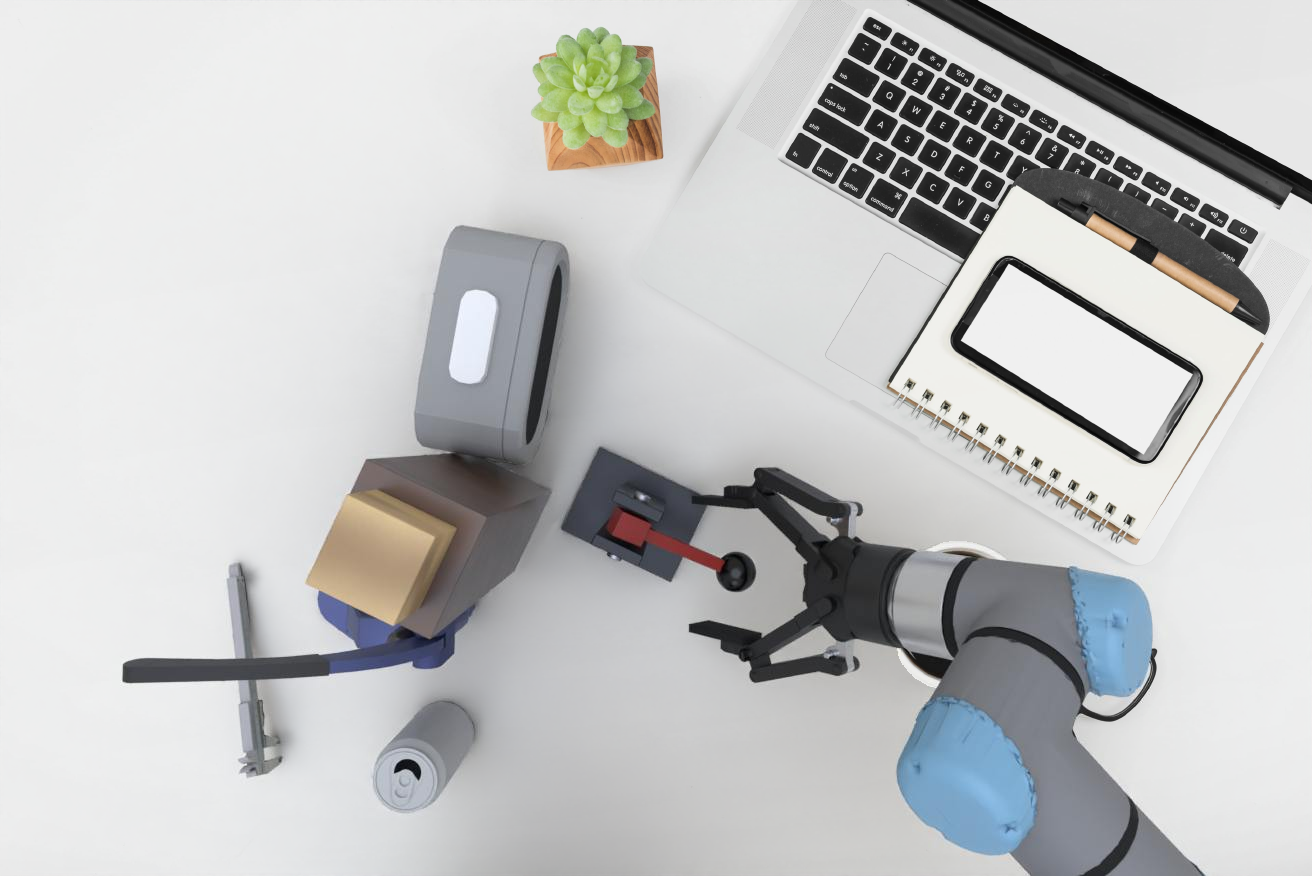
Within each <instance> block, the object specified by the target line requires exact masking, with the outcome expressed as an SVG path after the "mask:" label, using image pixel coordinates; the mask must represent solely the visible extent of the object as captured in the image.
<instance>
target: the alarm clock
mask: <svg viewBox="0 0 1312 876" xmlns="http://www.w3.org/2000/svg"><path fill="white" fill-rule="evenodd" d="M570 277H571V263H570V256H569V252H568V249H567V247H566V246H565V245H564V244H563V243H562V242H559V241H554V240H548V239H544V238H538V237H532V236H527V235H520V234H516V233H511V232H503V231H499V230H492V229H485V228H481V227H474V226H470V225H463V224H460V225H456V226H455V227H454V228H453V229H452V231H451V232H450V233H449V235H448V237H447V240H446V242H445V245H444V247H443V250H442V255H441V259H440V263H439V268H438V273H437V277H436V282H435V288H434V293H433V297H432V298H433V299H432V304H431V310H430V314H429V321H428V327H427V332H426V336H425V342H424V347H423V354H422V358H421V365H420V370H419V376H418V382H417V389H416V397H415V403H414V411H413V418H414V419H413V421H414V433H415V437H416V440H417V442H418V443H419V445H420V446H421V447H424V448H427V449H432V450H437V451H444V452H449V453H459V454H464V455H470V456H475V457H480V458H486V459H488V460H490V461H498V462H503V463H507V464H508V463H509V464H513V465H519V466H525V465H526V464H528V463H530V462H531V461H532V460H533V459H534V458H535V456H536V453H537V451H538V448H539V446H540V443H541V439H542V436H543V433H544V429H545V425H546V424H545V423H546V418H547V413H548V411H549V410H548V409H549V404H550V399H551V393H552V389H553V383H554V377H555V371H556V366H557V360H558V354H559V349H560V344H561V339H562V333H563V326H564V323H565V315H566V310H567V305H568V297H569V290H570V280H571V279H570Z"/></svg>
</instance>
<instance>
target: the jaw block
mask: <svg viewBox="0 0 1312 876" xmlns="http://www.w3.org/2000/svg"><path fill="white" fill-rule="evenodd" d="M456 530H457V528H456V527H454V526H452V525H450V524H448V523H446V522H444V521H442V520H440V519H438V518H436V517H434V516H432V515H429V514H427V513H425V512H423V511H421V510H419V509H417V508H415V507H413V506H411V505H409V504H407V503H404V502H402V501H400V500H398V499H396V498H394V497H392V496H390V495H388V494H386V493H384V492H382V491H379V490H377V489H376V490H370V491H365V492H359V493H353V494H350V493H347V494H346V495H345V497H344V499H343V501H342V503H341V506H340V508H339V510H338V512H337V513H336V515H335V519H334V521H333V523H332V525H331V527H330V529H329V531H328V533H327V536H326V538H325V540H324V542H323V544H322V546H321V548H320V550H319V553H318V555H317V557H316V558H315V561H314V563H313V566H312V568H311V569H310V571H309V573H308V576H307V579H306V580H305V585H307V586H309V587H311V588H314V589H316V590H317V591H318V592H319V591H321V592H324V593H326V594H328V595H330V596H332V597H334V598H336V599H338V600H340V601H342V602H344V603H346V604H348V605H350V606H352V607H355V608H357V609H359V610H361V611H363V612H365V613H367V614H369V615H371V616H373V617H375V618H377V619H379V620H381V621H383V622H386V623H388V624H390V625H392V626H394V625H396V624H397V623H399V622H400V621H402V620H403V619H405V618H406V617H408V616H409V615H411V614H413V613H414V612H416V611H417V610H419V609H420V607H421V605H422V602H423V600H424V598H425V596H426V594H427V592H428V590H429V588H430V585H431V583H432V581H433V579H434V577H435V575H436V573H437V571H438V568H439V566H440V564H441V562H442V560H443V558H444V556H445V554H446V551H447V549H448V547H449V545H450V543H451V541H452V539H453V537H454V534H455V532H456Z"/></svg>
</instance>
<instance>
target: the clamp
mask: <svg viewBox="0 0 1312 876" xmlns="http://www.w3.org/2000/svg"><path fill="white" fill-rule="evenodd" d="M316 599H317V606H318V610H319V611H320V614H321V616H322V617H323V618H324V620H325V621H326V622H328V623H329V624H330V625H332V626H333V627H334V628H336V629H337V630H338V631H340V632H341V633H343V634H344V635H345V636H346V637H348V638H349V639H351V640H352V641H353V642H354V644H355V646H356V648H357V649H351V650H344V651H339V652H332V653H323V654H319V653H310V654H309V653H308V654H301V655H289V656H287V655H286V656H270V657H253V658H239V659H236V658H178V657H177V658H175V657H172V658H171V657H170V658H169V657H168V658H167V657H140V658H134V659H130V660H127V661H124V662H123V663H122V675H121V676H122V677H121V680H122V682H123V683H124V684H153V683H154V684H155V683H156V684H157V683H159V684H161V683H193V682H194V683H197V682H200V683H201V682H231V681H232V682H233V681H234V682H235V681H237V682H238V680H256V681H261V680H264V681H265V680H281V679H283V680H284V679H301V678H314V677H315V678H316V677H329V676H330V675H334V674H343V673H344V674H345V673H355V672H356V673H357V672H363V671H369V670H370V671H371V670H378V669H385V668H390V667H395V666H400V665H404V664H408V663H411V662H412V668H415V669H419V670H432V669H438V668H440V667H442V666H443V665H444V664H445V663H446V662H448V660H450V658H452V657H453V655H455V646H456V634H457V633H458V632H459V631H460V630H461V629H463V628H464V627H465V626H466V625H467V624H468V623H469V620H470V617H471V616H472V614H473V613H474V610H475V607H476V603H474V604H473V605H472V606H471V607H470V608H468V609H467V610H466V611H465V612H463V613H462V614H461V615H460V616H458V617H457V618H456V619H455V620H453V621H452V622H451V623H450V624H449V625H447V626H446V627H445V628H444V629H442V630H441V631H440V632H439V633H437V634H436V635H435V636H434V637H433V638H431V639H428V638H426V637H424V636H422V635H420V634H418V633H416V632H413V631H411V630H409V629H407V628H405V627H403V626H401V625H399V624H396V625H394V626H392V625H390V624H388V623H386V622H383V621H381V620H379V619H377V618H375V617H373V616H371V615H369V614H367V613H365V612H363V611H361V610H359V609H357V608H355V607H352V606H350V605H348V604H346V603H344V602H342V601H340V600H338V599H336V598H334V597H332V596H330V595H328V594H326V593H324V592H321V591H319V590H318V593H317V597H316Z"/></svg>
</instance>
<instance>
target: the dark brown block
mask: <svg viewBox="0 0 1312 876" xmlns="http://www.w3.org/2000/svg"><path fill="white" fill-rule="evenodd" d="M376 489H377V490H379V491H382V492H384V493H386V494H388V495H390V496H392V497H394V498H396V499H398V500H400V501H402V502H404V503H407V504H409V505H411V506H413V507H415V508H417V509H419V510H421V511H423V512H425V513H427V514H429V515H432V516H434V517H436V518H438V519H440V520H442V521H444V522H446V523H448V524H450V525H452V526H454V527H456V528H457V530H456V532H455V534H454V537H453V539H452V541H451V543H450V545H449V547H448V549H447V551H446V554H445V556H444V558H443V560H442V562H441V564H440V566H439V568H438V571H437V573H436V575H435V577H434V579H433V581H432V583H431V585H430V588H429V590H428V592H427V594H426V596H425V598H424V600H423V602H422V605H421V607H420V609H419V610H417V611H416V612H414V613H413V614H411V615H409V616H408V617H406V618H405V619H403V620H402V621H400V622H399V623H397V624H399V625H401V626H403V627H405V628H407V629H409V630H411V631H413V632H416V633H418V634H420V635H422V636H424V637H426V638H428V639H431V638H433V637H434V636H435V635H436V634H437V633H439V632H440V631H441V630H442V629H444V628H445V627H446V626H447V625H449V624H450V623H451V622H452V621H453V620H455V619H456V618H457V617H458V616H460V615H461V614H462V613H463V612H465V611H466V610H467V609H468V608H470V607H471V606H472V605H473V604H474V603H475V604H476V603H477V602H479V601H480V600H481V599H482V598H483V597H484V596H486V595H488V593H489V592H491V591H492V590H493V589H495V588H496V587H497V586H498V585H500V583H502V582H503V581H504V580H505V579H507V578H508V577H509V576H510V575H512V574H513V573H514V572H515V571H516V569H517V566H518V565H519V562H520V560H521V558H522V556H523V554H524V552H525V550H526V547H527V545H528V543H529V542H530V539H531V537H532V535H533V533H534V531H535V528H536V526H537V524H538V522H539V520H540V518H541V516H542V514H543V511H544V509H545V507H546V505H547V503H548V501H549V499H550V496H551V494H552V493H553V489H551V488H549V487H547V486H544V485H542V484H541V483H538V482H536V481H534V480H533V479H530V478H527V477H526V476H524V475H522V474H519V473H518V472H515V471H513V470H511V469H509V468H507V467H505V466H503V465H500V464H498V463H496V462H494V461H493V460H491V459H486V458H480V457H475V456H470V455H464V454H459V453H453V452H449V453H437V454H420V455H405V456H391V457H390V456H389V457H376V458H366V459H365V461H364V463H363V465H362V467H361V469H360V470H359V474H358V476H357V478H356V480H355V482H354V484H353V486H352V488H351V490H350V493H349V494H353V493H359V492H365V491H370V490H376Z"/></svg>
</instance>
